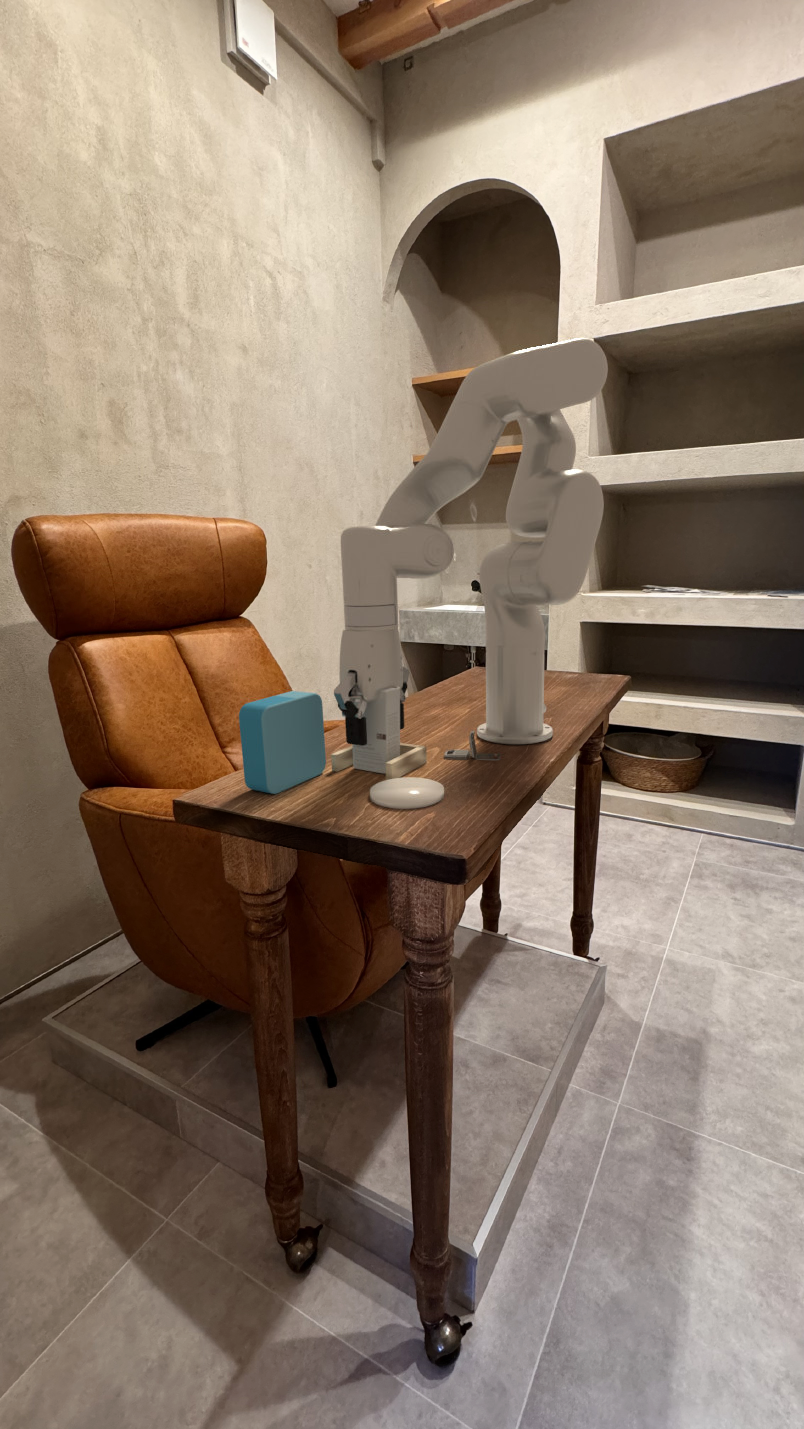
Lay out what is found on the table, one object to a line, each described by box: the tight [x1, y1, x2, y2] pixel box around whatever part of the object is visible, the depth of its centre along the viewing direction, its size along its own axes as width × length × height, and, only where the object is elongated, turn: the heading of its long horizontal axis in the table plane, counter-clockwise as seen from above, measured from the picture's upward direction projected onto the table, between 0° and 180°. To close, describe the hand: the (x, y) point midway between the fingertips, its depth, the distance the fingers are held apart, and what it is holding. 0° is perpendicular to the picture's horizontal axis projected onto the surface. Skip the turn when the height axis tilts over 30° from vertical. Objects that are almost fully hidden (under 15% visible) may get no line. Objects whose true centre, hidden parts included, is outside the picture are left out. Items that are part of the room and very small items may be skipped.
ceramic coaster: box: [369, 776, 445, 810], centre depth 87 cm, size 10×10×1 cm
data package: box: [238, 690, 327, 795], centre depth 92 cm, size 12×4×12 cm, turn 147°
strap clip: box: [443, 730, 501, 761], centre depth 102 cm, size 8×3×4 cm, turn 78°
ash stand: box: [330, 742, 427, 780], centre depth 99 cm, size 10×10×2 cm
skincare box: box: [351, 687, 401, 774], centre depth 97 cm, size 6×4×12 cm
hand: (376, 735), depth 97 cm, fingers open, 9 cm apart
